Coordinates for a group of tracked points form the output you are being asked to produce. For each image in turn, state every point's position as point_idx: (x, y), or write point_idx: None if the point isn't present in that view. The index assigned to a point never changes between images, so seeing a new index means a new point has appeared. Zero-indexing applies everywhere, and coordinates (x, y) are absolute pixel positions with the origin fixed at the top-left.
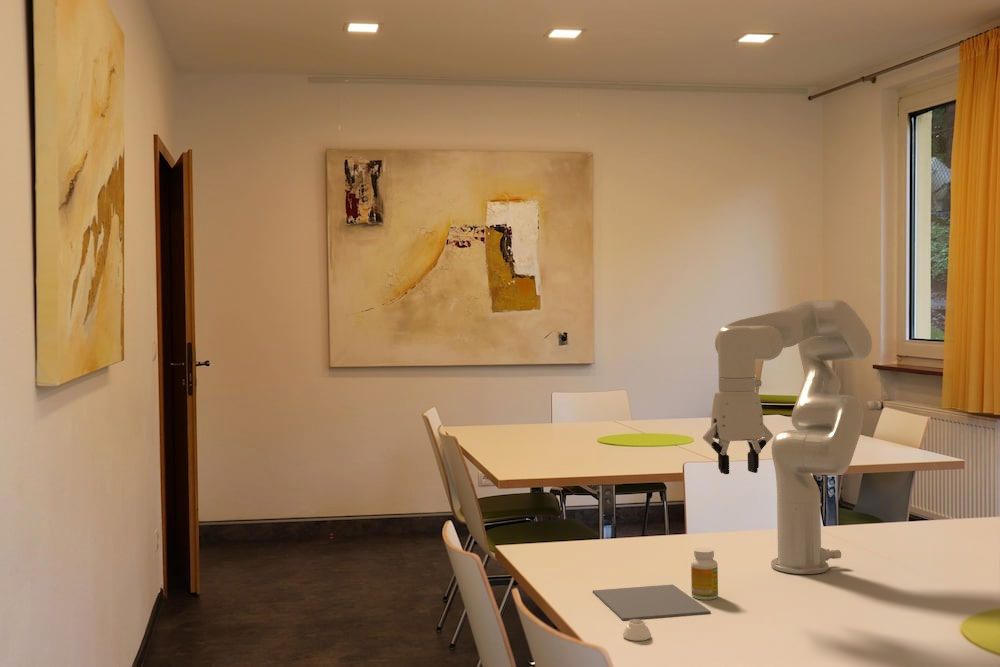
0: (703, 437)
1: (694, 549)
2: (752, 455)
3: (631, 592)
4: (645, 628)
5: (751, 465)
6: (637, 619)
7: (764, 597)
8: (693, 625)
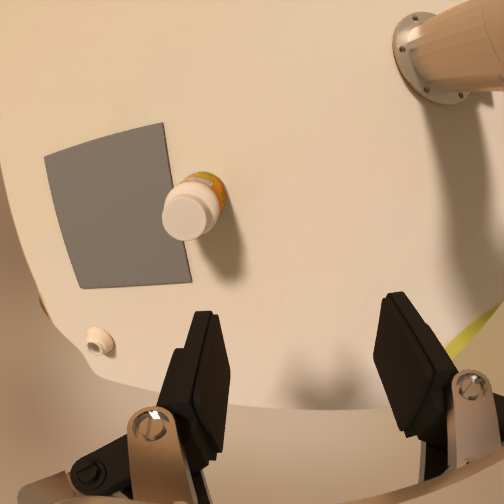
0: (23, 499)
1: (163, 210)
2: (403, 417)
3: (89, 170)
4: (105, 352)
5: (388, 357)
6: (94, 343)
7: (306, 213)
8: (160, 319)
